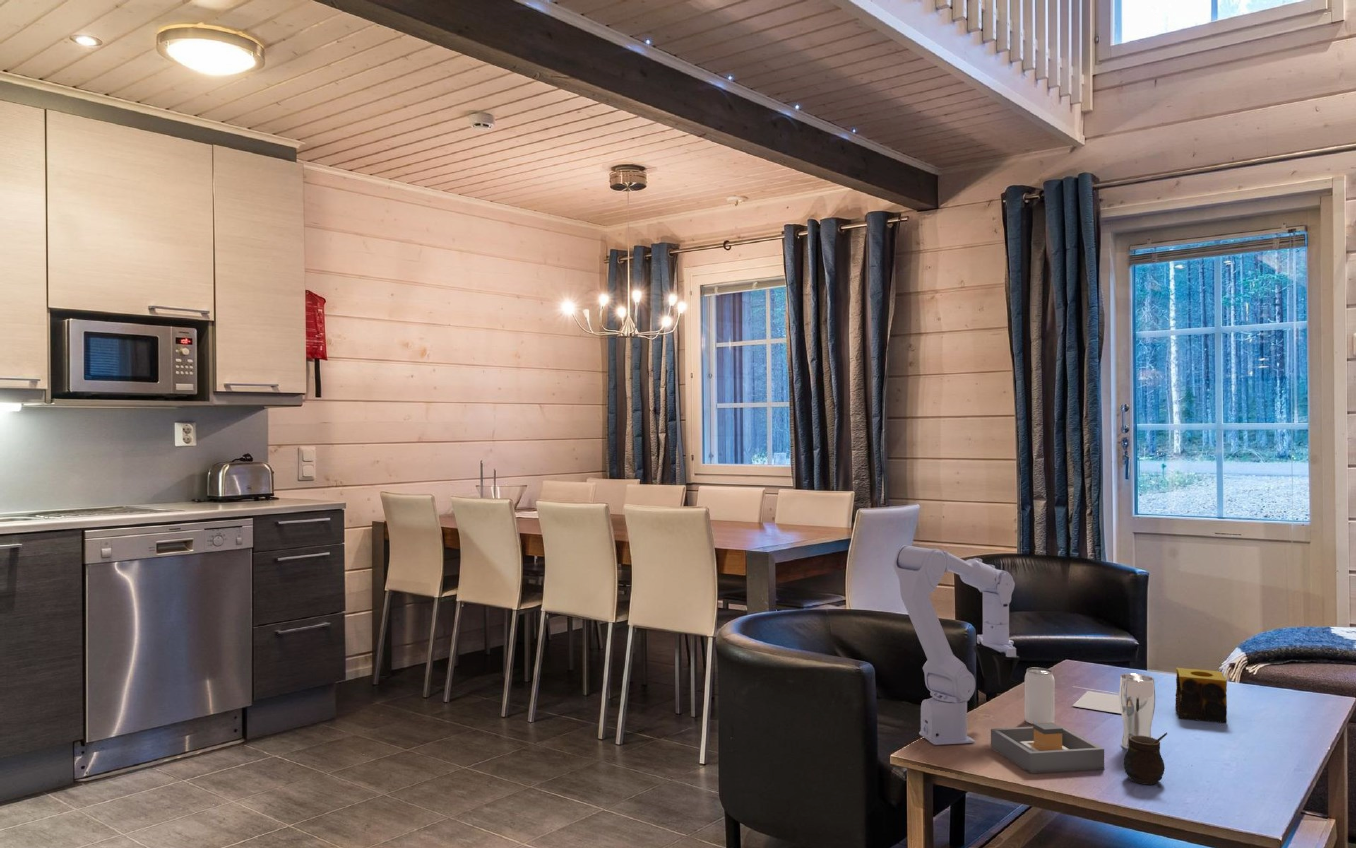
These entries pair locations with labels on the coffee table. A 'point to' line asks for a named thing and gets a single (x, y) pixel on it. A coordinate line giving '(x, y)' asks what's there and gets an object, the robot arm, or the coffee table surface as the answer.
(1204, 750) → the coffee table surface
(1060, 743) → the plug
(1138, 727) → the beer glass
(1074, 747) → the box
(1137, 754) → the mate gourd
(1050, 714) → the can
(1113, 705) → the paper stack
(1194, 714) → the candle
